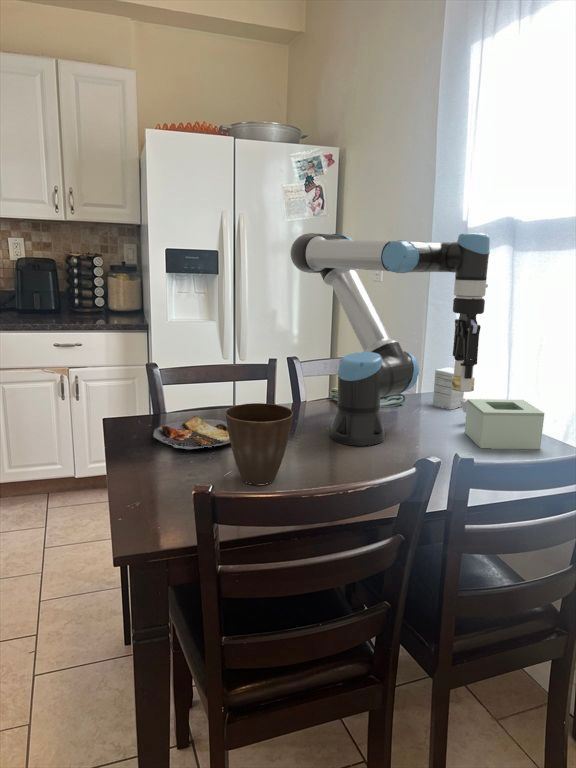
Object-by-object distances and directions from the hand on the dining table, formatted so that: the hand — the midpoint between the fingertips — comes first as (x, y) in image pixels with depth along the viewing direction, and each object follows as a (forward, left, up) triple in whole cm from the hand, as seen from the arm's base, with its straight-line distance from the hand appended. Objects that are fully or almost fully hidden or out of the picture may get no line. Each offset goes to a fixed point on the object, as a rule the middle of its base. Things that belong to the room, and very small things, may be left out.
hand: (462, 387), depth 148 cm
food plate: (-69, +7, -17) cm, 72 cm away
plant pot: (-51, -22, -17) cm, 58 cm away
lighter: (+11, +24, -17) cm, 31 cm away
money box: (+15, +8, -17) cm, 24 cm away
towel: (-17, +49, -18) cm, 55 cm away
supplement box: (+10, +44, -17) cm, 48 cm away
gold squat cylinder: (0, 0, 0) cm, 0 cm away
